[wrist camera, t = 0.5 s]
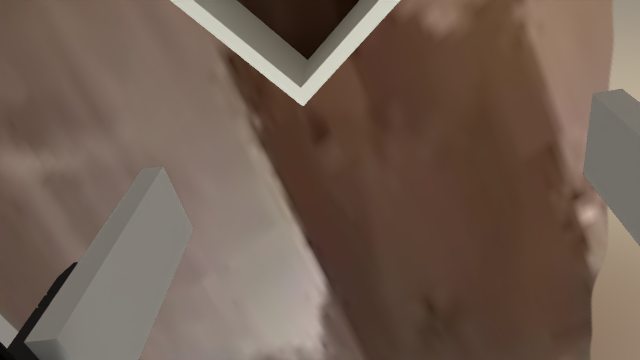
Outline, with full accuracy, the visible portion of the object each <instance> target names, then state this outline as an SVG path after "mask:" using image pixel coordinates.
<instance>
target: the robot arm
mask: <svg viewBox="0 0 640 360" xmlns="http://www.w3.org/2000/svg"><path fill="white" fill-rule="evenodd" d="M583 175H584V176H585V177H586V179H587V180H588V181H589V182H590V184H591V185H592V186H593V188H594V189H595V190H596V191H597V193H598V194H599V195H600V196H601V198H602V199H603V200H604V201H605V203H606V204H607V205H608V207H609V208H610V209H611V210H612V211H613V213H614V214H615V215H616V217H617V218H618V219H619V220H620V222H621V223H622V224H623V226H624V227H625V228H626V229H627V231H628V232H629V233H630V234H631V235H632V237H633V238H634V239H635V241H636V242H637V243H638V245H639V246H640V102H638V101H637V100H636V99H635V98H633V97H632V96H631V95H629V94H628V93H627V92H625V91H624V90H623V89H618V90H612V91H606V92H600V93H594V94H593V96H592V104H591V112H590V120H589V128H588V136H587V144H586V153H585V161H584V169H583ZM192 232H193V228H192V226H191V224H190V221H189V219H188V217H187V215H186V213H185V211H184V209H183V207H182V205H181V203H180V201H179V199H178V196H177V194H176V192H175V190H174V188H173V186H172V184H171V182H170V180H169V178H168V176H167V173H166V171H165V169H164V167H163V166H161V167H155V168H149V169H143V170H141V171H140V173H139V174H138V176H137V177H136V179H135V180H134V182H133V183H132V184H131V186H130V187H129V189H128V190H127V192H126V193H125V195H124V196H123V198H122V199H121V201H120V202H119V204H118V205H117V206H116V208H115V209H114V211H113V212H112V214H111V215H110V217H109V218H108V220H107V221H106V223H105V224H104V226H103V227H102V228H101V230H100V231H99V233H98V234H97V236H96V237H95V239H94V240H93V242H92V243H91V245H90V246H89V248H88V249H87V250H86V252H85V253H84V255H83V256H82V258H81V259H80V261H79V262H75V263H73V264H72V265H71V266H70V267H69V268H67V269H66V270H65V271H64V272H63V273H62V274H61V275H60V276H59V277H58V278H57V279H56V280H55V282H54V283H53V285H52V286H51V287H50V289H49V290H48V292H47V295H45V296H44V297H43V299H42V300H41V302H40V303H39V304H38V308H36V309H35V310H34V312H33V313H32V314H31V316H30V317H29V319H28V320H27V321H26V323H25V324H24V326H23V327H22V328H21V330H20V331H19V333H18V334H17V336H16V337H15V338H14V340H13V341H12V343H11V344H10V345H9V347H8V348H6V347H5V346H4V345H3V344H2V343H1V342H0V360H139V358H140V356H141V353H142V351H143V348H144V346H145V344H146V341H147V339H148V337H149V334H150V332H151V330H152V327H153V325H154V322H155V320H156V318H157V315H158V313H159V311H160V308H161V306H162V303H163V301H164V299H165V296H166V294H167V292H168V289H169V287H170V284H171V282H172V280H173V277H174V275H175V273H176V270H177V268H178V266H179V263H180V261H181V258H182V256H183V254H184V251H185V249H186V247H187V244H188V242H189V239H190V237H191V235H192Z"/></svg>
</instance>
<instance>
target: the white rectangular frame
mask: <svg viewBox="0 0 640 360" xmlns="http://www.w3.org/2000/svg"><path fill="white" fill-rule="evenodd" d="M171 1H172V2H173V3H174V4H176V5H177V6H178V7H179V8H181V9H182V10H183V11H184V12H186V13H187V14H188V15H189V16H191V17H192V18H193V19H194V20H196V21H197V22H198V23H199V24H201V25H202V26H203V27H204V28H206V29H207V30H208V31H209V32H211V33H212V34H213V35H214V36H216V37H217V38H218V39H219V40H221V41H222V42H223V43H224V44H226V45H227V46H228V47H229V48H231V49H232V50H233V51H234V52H236V53H237V54H238V55H239V56H241V57H242V58H243V59H244V60H246V61H247V62H248V63H249V64H251V65H252V66H253V67H254V68H256V69H257V70H258V71H259V72H261V73H262V74H263V75H264V76H266V77H267V78H268V79H269V80H271V81H272V82H273V83H274V84H276V85H277V86H278V87H279V88H281V89H282V90H283V91H284V92H286V93H287V94H288V95H289V96H291V97H292V98H293V99H294V100H296V101H297V102H298V103H299V104H301V105H302V106H304V105H305V104H306V102H307V101H308V100H309V99H310V98H311V97H312V96H313V95H314V94H315V93H316V92H317V90H318V89H319V88H320V87H321V86H322V85H323V84H324V83H325V82H326V81H327V80H328V78H329V77H330V76H331V75H332V74H333V73H334V72H335V71H336V70H337V69H338V68H339V66H340V65H341V64H342V63H343V62H344V61H345V60H346V59H347V58H348V57H349V56H350V54H351V53H352V52H353V51H354V50H355V49H356V48H357V47H358V46H359V45H360V44H361V42H362V41H363V40H364V39H365V38H366V37H367V36H368V35H369V34H370V33H371V32H372V30H373V29H374V28H375V27H376V26H377V25H378V24H379V23H380V22H381V21H382V20H383V18H384V17H385V16H386V15H387V14H388V13H389V12H390V11H391V10H392V9H393V8H394V6H395V5H396V4H397V3H398V2H399V1H400V0H359V2H358V3H357V4H356V5H355V6H354V7H353V9H352V10H351V11H350V12H349V13H348V14H347V15H346V17H345V18H344V19H343V20H342V21H341V22H340V24H339V25H338V26H337V27H336V28H335V29H334V30H333V32H332V33H331V34H330V35H329V36H328V37H327V39H326V40H325V41H324V42H323V43H322V44H321V45H320V47H319V48H318V49H317V50H316V51H315V52H314V54H313V55H312V56H311V57H310V58H309V59H308V60H307V59H306V58H305V57H303V56H302V55H301V54H300V53H299V52H297V51H296V50H295V49H294V48H293V47H292V46H290V45H289V44H288V43H287V42H286V41H284V40H283V39H282V38H281V37H280V36H279V35H277V34H276V33H275V32H274V31H273V30H271V29H270V28H269V27H268V26H267V25H266V24H264V23H263V22H262V21H261V20H260V19H258V18H257V17H256V16H255V15H254V14H253V13H251V12H250V11H249V10H248V9H247V8H245V7H244V6H243V5H242V4H241V3H240V2H238V1H237V0H171Z"/></svg>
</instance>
